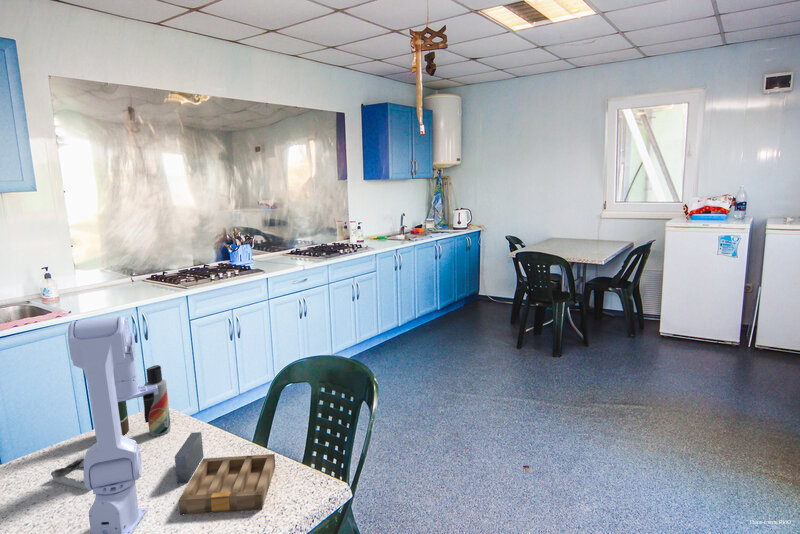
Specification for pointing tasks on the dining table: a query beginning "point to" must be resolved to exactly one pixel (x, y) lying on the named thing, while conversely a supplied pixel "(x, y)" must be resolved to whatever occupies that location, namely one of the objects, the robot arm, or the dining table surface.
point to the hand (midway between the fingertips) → (130, 424)
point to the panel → (189, 457)
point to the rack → (228, 484)
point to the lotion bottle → (158, 403)
